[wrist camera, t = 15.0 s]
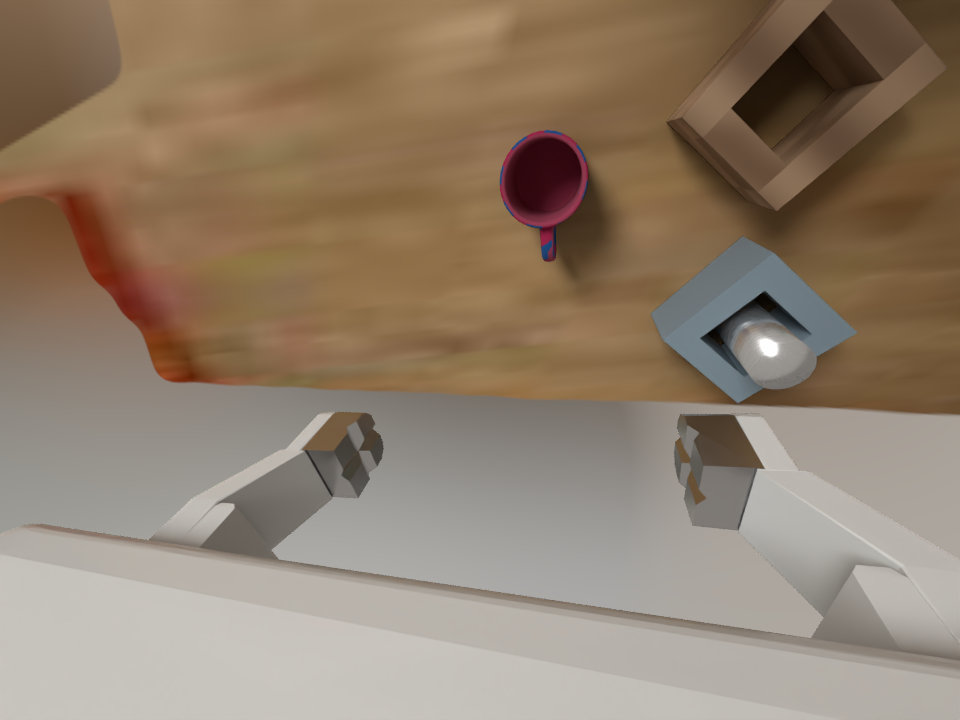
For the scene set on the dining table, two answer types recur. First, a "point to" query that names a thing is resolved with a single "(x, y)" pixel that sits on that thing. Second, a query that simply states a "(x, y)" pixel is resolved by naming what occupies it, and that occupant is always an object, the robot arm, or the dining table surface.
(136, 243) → the dining table surface
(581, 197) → the mug
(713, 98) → the mount
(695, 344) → the socket
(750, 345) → the pin
